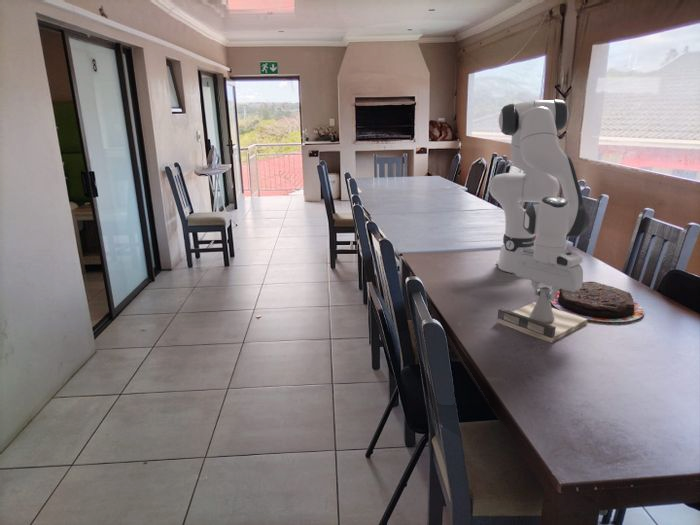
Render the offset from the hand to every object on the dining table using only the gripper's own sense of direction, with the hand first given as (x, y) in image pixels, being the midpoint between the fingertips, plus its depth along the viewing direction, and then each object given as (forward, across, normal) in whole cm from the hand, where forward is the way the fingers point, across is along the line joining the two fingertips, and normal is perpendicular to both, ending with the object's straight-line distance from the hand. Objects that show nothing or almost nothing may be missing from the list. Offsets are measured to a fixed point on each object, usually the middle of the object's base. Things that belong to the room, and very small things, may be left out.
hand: (544, 297), depth 144 cm
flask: (+7, 0, 0) cm, 7 cm away
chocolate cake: (+9, +4, +25) cm, 27 cm away
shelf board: (+9, 0, 0) cm, 9 cm away
